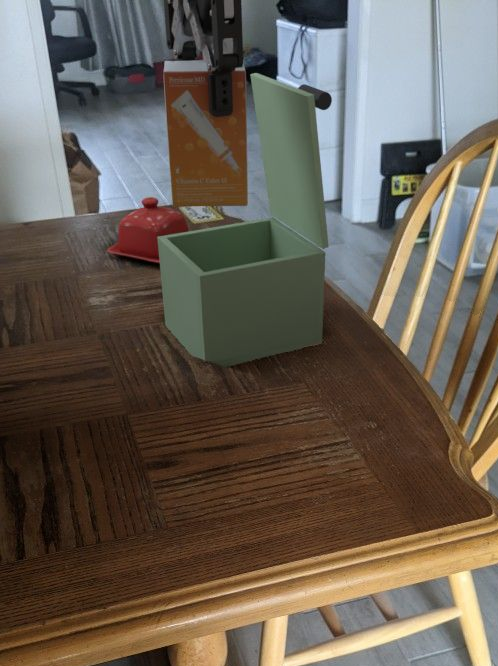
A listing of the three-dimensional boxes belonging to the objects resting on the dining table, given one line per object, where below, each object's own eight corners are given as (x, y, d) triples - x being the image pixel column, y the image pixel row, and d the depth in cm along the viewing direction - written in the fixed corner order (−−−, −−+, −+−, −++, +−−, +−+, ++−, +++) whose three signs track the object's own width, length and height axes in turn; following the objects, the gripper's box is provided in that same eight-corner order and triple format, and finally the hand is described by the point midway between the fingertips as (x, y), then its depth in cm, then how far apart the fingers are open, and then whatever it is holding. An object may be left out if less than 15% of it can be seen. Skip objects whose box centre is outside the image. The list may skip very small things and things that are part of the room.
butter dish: (103, 258, 121) (95, 202, 116) (147, 235, 129) (142, 182, 124) (163, 271, 117) (158, 214, 112) (205, 247, 125) (202, 193, 120)
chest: (205, 372, 92) (199, 276, 85) (165, 326, 102) (157, 236, 95) (322, 344, 98) (325, 252, 91) (273, 303, 108) (273, 217, 101)
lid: (307, 96, 80) (351, 83, 81) (250, 74, 90) (289, 63, 91) (322, 249, 90) (361, 235, 92) (270, 214, 100) (305, 202, 102)
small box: (172, 209, 82) (161, 70, 74) (173, 190, 87) (163, 59, 79) (249, 207, 82) (246, 69, 74) (246, 188, 87) (243, 57, 79)
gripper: (129, -93, 73) (147, 98, 83) (184, -92, 63) (197, 126, 72) (204, -95, 76) (212, 91, 85) (268, -93, 65) (269, 118, 75)
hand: (205, 107), depth 79 cm, fingers closed on small box, 7 cm apart
